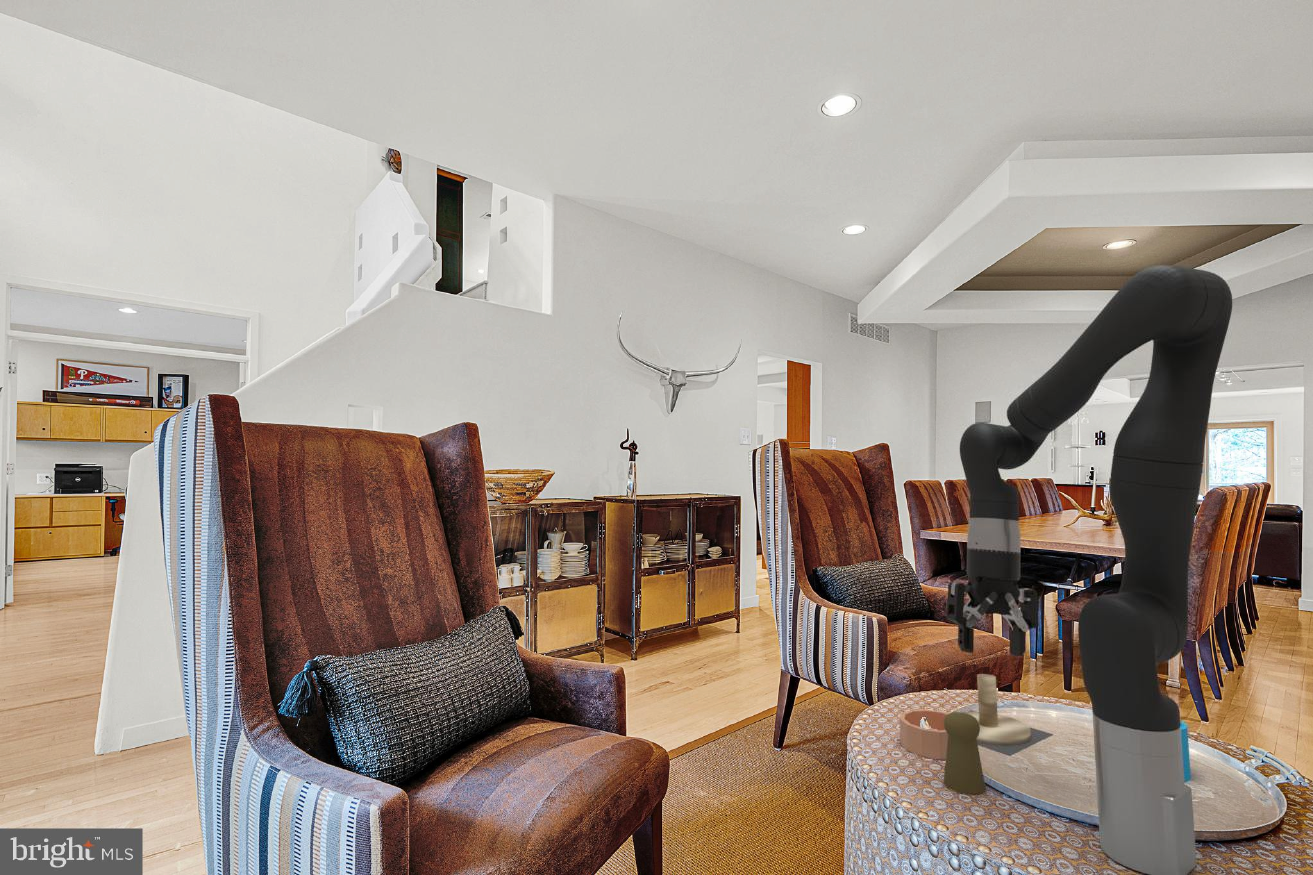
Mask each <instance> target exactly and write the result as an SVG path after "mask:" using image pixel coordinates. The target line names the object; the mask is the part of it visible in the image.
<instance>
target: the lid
mask: <svg viewBox="0 0 1313 875" xmlns="http://www.w3.org/2000/svg"><path fill="white" fill-rule="evenodd" d="M996 678H997V677H996V676H995V675H993V674H988V673H987V674H986V673H979V674H977V675H976V680H977V698H978V699H977V702H978V703H977V704H978V711H976V712H973V711H974V710H973V711H971V710H970V711H971V712H968V711H961V712H962V713H967V714H970V715H972V716H973V717H975V718H976V719H977V721H978V722H979V725H980V732H979V736H978V737H977V738H976V739H977V742H980V743H984V744H991V745H1000V746H1014V745H1021V744H1025V743H1027V742H1029V741H1030V740H1031V730H1030V728H1031V727H1030V726H1028V725H1027V724H1026V723H1024V722H1022V721H1020V720H1018V719H1016V718H1013V717H1011V716H1007V715H1003V714H999V713H998V698H997V679H996ZM1029 727H1030V728H1029Z"/></svg>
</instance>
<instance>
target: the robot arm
mask: <svg viewBox="0 0 1313 875" xmlns="http://www.w3.org/2000/svg"><path fill="white" fill-rule="evenodd" d="M1232 311H1233V294H1232V291H1231V288H1230V286H1229V285H1228V283H1227V282H1226V280H1225V279H1223V277H1221V276H1220V275H1218V274H1216V273H1214V272H1211V271H1208V270H1203V269H1197V268H1192V267H1186V266H1181V265H1174V264H1158V265H1154V266H1149V267H1147V268H1143V269H1142V270H1140V271H1139V272H1137V273H1135V274H1134V275H1133V276H1132V277H1131V278H1130V279H1129V280H1127V282H1125V283H1124V284H1123V285H1122V286H1121V287H1120V289H1118V291H1117V292H1115V293H1114V295H1113V296H1112V298H1111V299H1110V300H1109V301H1108V302H1107V304H1106V305H1105V306H1104V307H1103V308H1102V309H1101V311H1100V312H1099V313H1098V314H1097V316H1096V317H1095V318H1094V319H1093V321H1092V322H1091V323H1090V324H1089V326H1087V327H1086V329H1085V330H1084V331H1083V332H1082V333H1081V334H1080V336H1079V337H1077V339H1076V340H1075V341H1074V342H1073V344H1072V345H1071V346H1070V348H1069V349H1067V351H1066V352H1065V353H1064V354H1063V355H1062V356H1061V357H1060V359H1058V361H1057V362H1056V363H1054V365H1053V366H1051V367H1050V369H1048V370H1047V371H1046V372H1045V373H1043V375H1042V376H1040V377H1039V378H1038V379H1037V380H1035V381H1034V382H1033V383H1032V384H1031V385H1029V387H1027V388H1026V389H1025V390H1024V391H1023V392H1021V393H1020V395H1018V396H1017V397H1016V398H1015V399H1014V400H1012V402H1011V403H1010V404H1009V405H1008V407H1007V410H1006V418H1007V421H1008V422H1009V425H1007V426H1006V425H1000V424H994V423H988V422H976V423H973V424H970V425H969V426H968V427H967V428H966V429H965V430H964V431H963V433H962V435H961V439H960V443H959V457H960V460H961V465H962V468H963V472H964V476H965V477H964V478H965V481H966V483H967V487H968V490H969V521H968V527H967V540H966V542H967V543H966V574H967V576H968V581H967V583H966V584H964V583H961V582H955V581H950V582H949V583H948V588H947V597H946V598H947V599H946V600H947V602H946V613H945V618H946V619H947V620H948V621H951V622H953V623H955V624H956V625H957V628H958V630H957V636H958V637H957V639H958V640H957V645H958V647H959V648H960V650H961V652H964V653H968V654H973V653H974V640H975V639H974V637H975V636H974V635H975V634H974V633H975V629H974V628H972V627H973V626H974V625H975V623H976V622H977V621H978V619H980V618H982V617H983V616H984V615H985V614H986V615H988V614H989V615H994V614H996V615H1000V616H1002V617H1003V618H1004V619H1005V620H1006V622H1007V623H1008V624H1009V626H1010V628H1011V629H1010V630H1009V654H1010V655H1012V656H1014V657H1015V656H1016V657H1021V658H1022V657H1024V653H1026V648H1027V646H1026V642H1027V641H1026V639H1027V636H1026V634H1027V631H1030V630H1031V629H1035V630H1036V629H1038V628H1039V626H1040V624H1039V607H1038V606H1039V605H1038V592H1037V590H1036V589H1032V588H1026V587H1025V588H1024V587H1021V588H1019V586H1018V582H1019V580H1020V579H1021V546H1022V545H1021V540H1022V539H1021V538H1022V537H1021V531H1020V522H1019V521H1020V520H1019V519H1020V495H1019V490H1018V489H1017V487H1016V486H1014V485H1012V484H1011V483H1008V482H1007V481H1005V480H1004V479H1003V478H1002V476H1001V473H1000V470H1014V469H1018V468H1020V467H1021V466H1023V465H1026V463H1028V462H1029V461H1031V459H1032V458H1033V457H1034V455H1035V454H1036V453H1037V451H1038V450H1039V449H1040V447H1041V446H1042V445H1043V443H1044V442H1045V441H1046V439H1047V438H1048V436H1049V434H1051V433H1052V432H1054V431H1055V430H1056V429H1057V428H1059V427H1060V426H1062V425H1063V424H1064V423H1065V422H1067V421H1068V420H1070V419H1071V418H1072V417H1073V416H1075V415H1076V414H1077V413H1078V412H1079V411H1080V410H1081V409H1082V408H1083V407H1084V406H1085V405H1086V404H1087V403H1088V402H1089V401H1090V399H1091V398H1092V397H1093V395H1094V393H1095V392H1096V390H1097V388H1098V386H1099V384H1100V383H1101V381H1102V380H1103V378H1104V377H1105V375H1106V374H1107V373H1108V371H1110V370H1111V368H1112V367H1113V366H1115V365H1116V364H1117V363H1118V362H1119V361H1120V360H1122V359H1123V358H1125V357H1127V355H1129V354H1131V353H1133V351H1135V350H1137V349H1139V348H1140V347H1142V346H1144V345H1146V344H1147V343H1150V342H1151V341H1152V342H1153V344H1152V346H1153V347H1152V355H1151V364H1150V365H1151V366H1150V371H1149V374H1148V375H1149V376H1148V380H1147V383H1146V385H1145V388H1144V391H1143V393H1142V394H1141V395H1140V397H1139V399H1138V400H1137V402H1136V403H1135V405H1134V407H1133V409H1132V410H1131V411H1130V413H1129V415H1128V417H1127V418H1126V420H1125V422H1124V423H1123V425H1122V427H1121V429H1120V431H1119V432H1118V434H1117V437H1116V440H1115V443H1114V448H1113V453H1112V454H1113V455H1112V460H1111V461H1112V462H1111V468H1110V469H1111V470H1110V478H1109V495H1110V496H1109V497H1110V500H1111V505H1112V508H1113V511H1114V514H1115V518H1116V521H1117V523H1118V525H1119V529H1120V532H1121V535H1122V539H1123V543H1124V555H1125V556H1124V566H1123V573H1122V580H1121V584H1120V586H1119V591H1118V593H1112V594H1111V593H1110V594H1103V595H1100V596H1095V597H1093V598H1091V599H1090V600H1088V601H1087V602H1086V603H1085V604H1084V605H1083V607H1082V609H1081V611H1080V613H1079V618H1078V624H1077V626H1078V627H1077V633H1078V634H1077V635H1078V646H1079V647H1078V648H1079V654H1080V655H1079V656H1080V662H1081V671H1082V679H1083V680H1082V681H1083V684H1084V688H1085V691H1086V693H1087V694H1088V696H1089V699H1090V701H1091V710H1092V725H1093V726H1092V727H1093V744H1094V758H1095V759H1094V762H1095V778H1096V779H1095V780H1096V797H1097V814H1098V832H1099V844H1100V848H1101V850H1102V851H1103V852H1104V854H1106V856H1108V857H1109V858H1110V859H1112V860H1113V861H1115V863H1118V864H1120V865H1122V866H1124V867H1126V868H1129V869H1131V870H1134V871H1137V872H1140V873H1142V874H1147V875H1188V874H1189V873H1190V872H1191V871H1192V870H1193V869H1195V867H1196V866H1197V865H1198V864H1197V853H1196V852H1197V851H1196V838H1195V837H1196V836H1195V822H1194V819H1195V818H1194V809H1193V808H1194V806H1193V793H1192V787H1191V786H1190V785H1188V784H1185V782H1184V769H1183V754H1182V739H1181V724H1180V721H1181V714H1180V713H1181V711H1180V708H1179V705H1178V704H1177V702H1176V701H1175V700H1174V699H1173V698H1171V697H1170V696H1168V695H1165V694H1163V693H1162V692H1161V689H1160V685H1159V684H1160V683H1159V676H1158V669H1157V668H1158V666H1157V664H1161V663H1164V662H1168V661H1170V660H1172V659H1173V658H1175V657H1176V656H1178V655H1179V654H1180V652H1181V651H1182V650H1183V648H1184V647H1185V644H1186V642H1187V638H1188V634H1189V633H1188V632H1189V631H1188V628H1189V564H1190V563H1189V562H1190V555H1191V549H1192V545H1193V544H1192V543H1193V536H1194V530H1195V521H1196V520H1195V519H1196V512H1197V505H1198V500H1199V496H1200V490H1201V489H1200V488H1201V483H1202V477H1203V476H1202V474H1203V467H1204V460H1205V457H1204V456H1205V445H1206V437H1207V430H1208V425H1209V417H1210V413H1211V412H1210V411H1211V404H1212V394H1213V388H1214V382H1215V378H1216V373H1217V370H1218V367H1219V366H1218V365H1219V361H1220V358H1221V354H1222V351H1223V347H1224V344H1225V340H1226V337H1227V332H1228V329H1229V324H1230V321H1231V316H1232ZM967 596H968V597H969V599H968V601H966V603H965V598H966V597H967ZM1017 601H1019V607H1018V604H1017Z"/></svg>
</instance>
